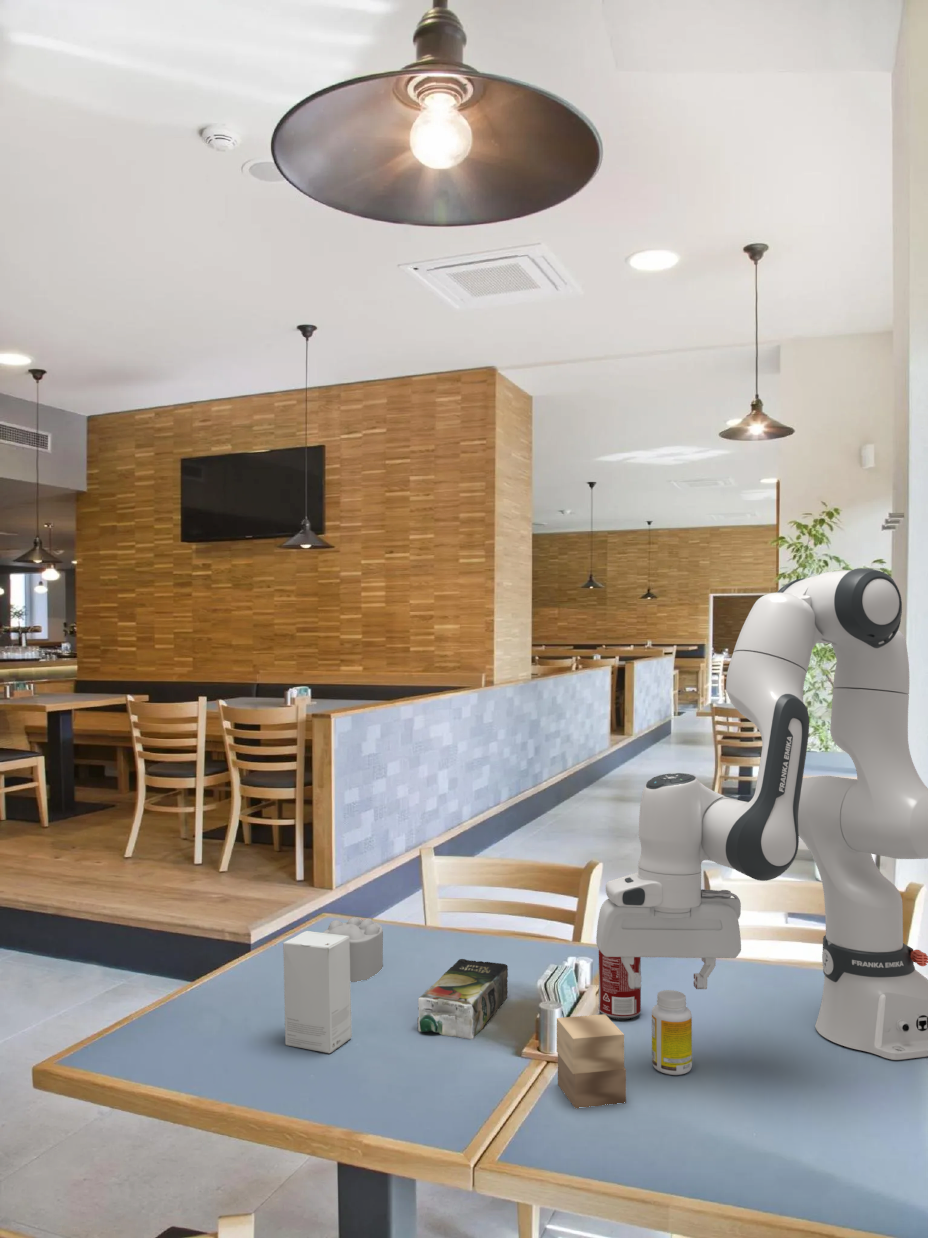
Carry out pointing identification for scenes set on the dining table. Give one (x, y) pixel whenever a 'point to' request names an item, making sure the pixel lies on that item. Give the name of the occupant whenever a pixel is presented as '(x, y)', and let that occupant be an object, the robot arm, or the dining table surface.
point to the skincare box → (317, 991)
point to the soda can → (618, 988)
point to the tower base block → (592, 1086)
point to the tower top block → (590, 1044)
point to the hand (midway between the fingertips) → (667, 988)
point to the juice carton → (463, 998)
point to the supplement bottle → (671, 1033)
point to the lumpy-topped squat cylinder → (361, 946)
